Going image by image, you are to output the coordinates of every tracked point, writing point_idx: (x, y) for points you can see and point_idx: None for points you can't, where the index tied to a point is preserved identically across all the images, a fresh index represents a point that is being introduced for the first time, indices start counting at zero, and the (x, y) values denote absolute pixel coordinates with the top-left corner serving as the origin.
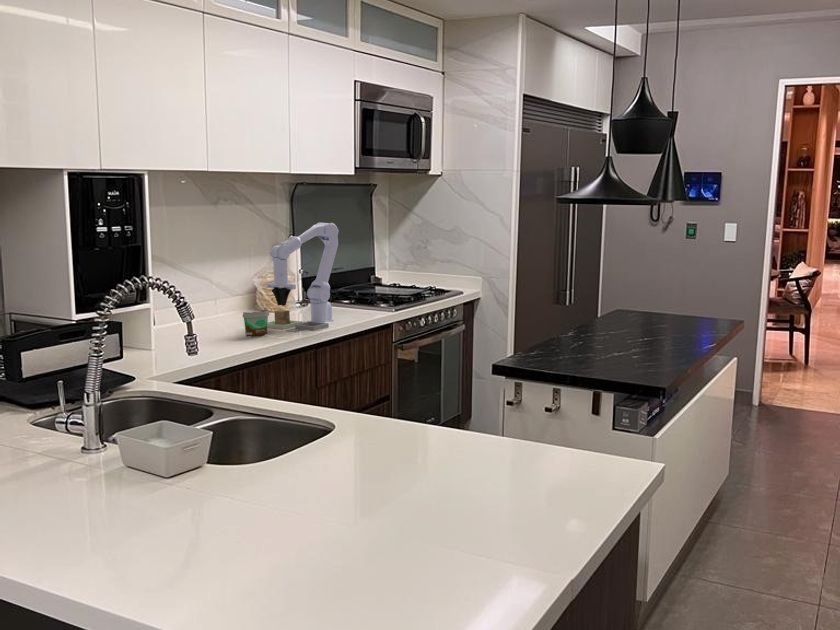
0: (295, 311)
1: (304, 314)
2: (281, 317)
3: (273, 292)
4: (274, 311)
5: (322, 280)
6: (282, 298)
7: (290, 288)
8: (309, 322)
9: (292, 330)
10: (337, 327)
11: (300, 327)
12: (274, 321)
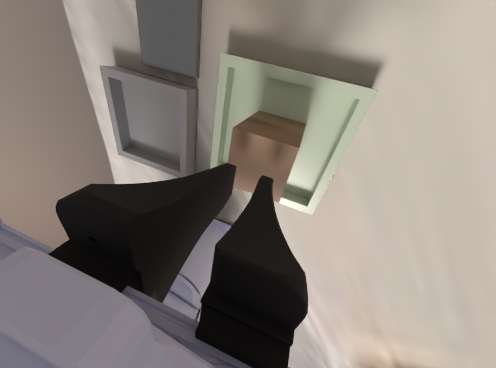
0: (340, 360)
1: (300, 326)
2: (254, 122)
3: (276, 248)
4: (299, 147)
5: None
6: (188, 177)
7: (9, 237)
8: (181, 167)
9: (168, 17)
10: (119, 161)
11: (166, 83)
12: (324, 170)
